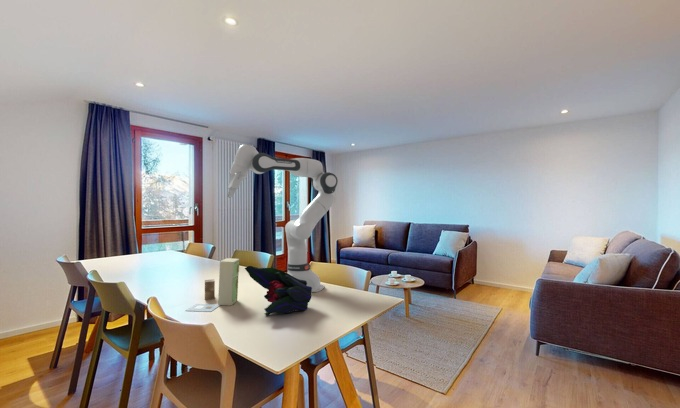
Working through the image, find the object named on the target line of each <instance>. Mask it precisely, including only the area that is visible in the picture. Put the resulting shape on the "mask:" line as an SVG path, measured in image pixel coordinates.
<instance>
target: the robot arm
mask: <svg viewBox="0 0 680 408" xmlns="http://www.w3.org/2000/svg"><path fill="white" fill-rule="evenodd" d="M272 170H277V171H286V172H287V171H288V172H290V173H291V175H293V176H294V177H301V178H310V183H311V186H312V189H314V191H317V192H318V193H317V195H316V197H314V198H313V200H311V202H310V203H308V205H307V206H306V207H305V208H304V209H303V210H302V211H303V212H302V213H301V215H300V216H299V217H298V218H297V219H291V220H290V221H287V223H286V224H285V227H284V232H285V236H286V244H287V264H286V273H288V274H290V275H291V276H293V277H295V278H297V279H299V280H305V281H306V282H307V285H306V286H310V287H312V293H318V292H320V291H322V290H323V289H324V288H325V285H324V284H323V283H321V279H320V276H319V275H318V274H317V273H315V271H313V270H312V269H311V266H312V264H311V263H309V262H308V248H307V245H306V240H307V239H309V238H310V237H311V235H312V233H313V230H315V227H316V226H317V224H318V223H319V221H320V220H321V219H322V218H323V217H324V216H325V215H326V214H327V212H329V210H330V208H332V206H333V205H334V203H335V200H336V197H335V195H334V193H335V191H336V188H337V185H338V182H339V181H338V177H337V175H336V174H334V173H332V172H328V171H327V172H324V167H323V163H322V162H321V161H320V160H317V159H313V158H307V157H295V158H281V157H274V156H271V155H270V154H267V153H266V152H259V151H258V150H257V149H256V147H255V146H254V145H251V144H246V143H245V144H243V143H242V145H240V146H239V147H238V149H237V150H236V154H235V156H234V161H233V162H232V164H231V168H230V169H229V175H230V178H229V181H228V182H229V183H228V185H227V189H228V193H227V198H233V197H234V195H235V192H236V191H237V190H238V189H239V188H240V185H241V183H242V182H243V180H245V179H247V176H248V174H249V171H251V172H252V173H254V174H257V175H261V174H264V173H267V172H270V171H272Z"/></svg>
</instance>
